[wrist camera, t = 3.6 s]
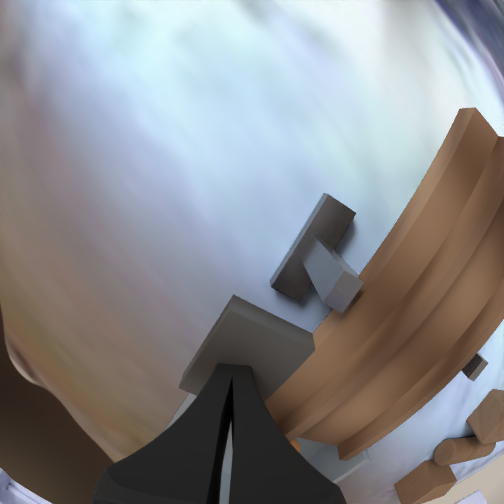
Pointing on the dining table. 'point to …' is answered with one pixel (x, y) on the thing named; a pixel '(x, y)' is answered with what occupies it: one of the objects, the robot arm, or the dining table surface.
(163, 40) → the dining table surface
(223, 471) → the tray
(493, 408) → the wooden block set
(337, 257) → the lever stand
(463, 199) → the wooden rack
